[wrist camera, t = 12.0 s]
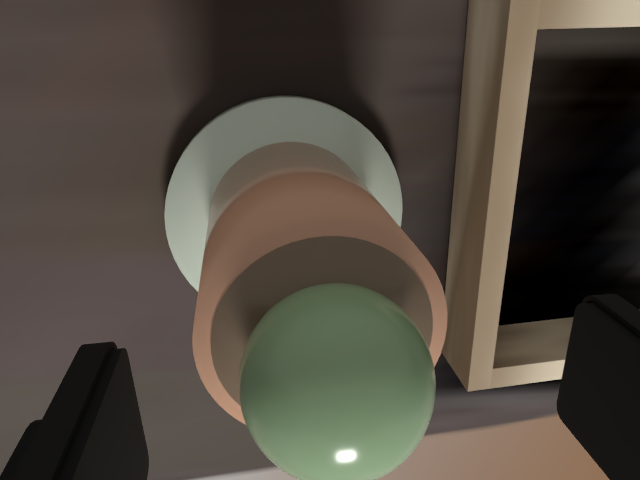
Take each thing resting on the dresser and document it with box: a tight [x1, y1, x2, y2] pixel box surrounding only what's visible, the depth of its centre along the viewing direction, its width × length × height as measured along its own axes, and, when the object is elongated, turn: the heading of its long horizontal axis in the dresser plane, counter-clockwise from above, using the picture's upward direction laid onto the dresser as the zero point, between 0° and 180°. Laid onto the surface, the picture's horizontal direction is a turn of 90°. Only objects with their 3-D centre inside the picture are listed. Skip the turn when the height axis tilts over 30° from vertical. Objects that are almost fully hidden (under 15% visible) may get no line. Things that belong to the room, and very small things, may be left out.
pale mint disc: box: [165, 95, 402, 291], centre depth 19 cm, size 9×9×1 cm
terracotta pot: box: [192, 142, 447, 480], centre depth 14 cm, size 6×6×12 cm
